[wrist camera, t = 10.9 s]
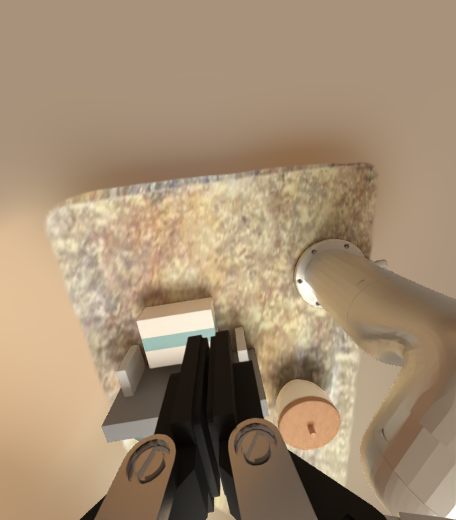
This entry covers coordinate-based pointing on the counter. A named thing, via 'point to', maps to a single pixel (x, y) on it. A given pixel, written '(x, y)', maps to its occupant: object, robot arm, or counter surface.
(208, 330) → the carton
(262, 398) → the display stand
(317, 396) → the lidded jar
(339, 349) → the counter surface
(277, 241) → the counter surface
